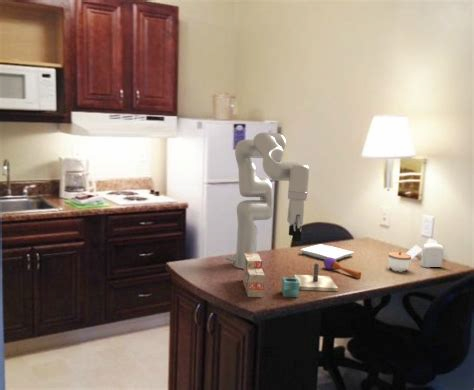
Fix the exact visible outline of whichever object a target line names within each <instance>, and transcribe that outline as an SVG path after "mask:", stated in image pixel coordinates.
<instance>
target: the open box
mask: <svg viewBox="0 0 474 390" xmlns="http://www.w3.org/2000/svg"><path fill="white" fill-rule="evenodd" d="M281 280H282V283H281V293H282V296H283V297H287V298H289V297H291V298H299V296H300V295H299V294H300V289H299V284H300V282H299V281H298V279H297V278H294V277H282V279H281Z"/></svg>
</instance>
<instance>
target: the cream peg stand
mask: <svg viewBox="0 0 474 390" xmlns="http://www.w3.org/2000/svg"><path fill="white" fill-rule="evenodd" d="M319 268H320V264H319V263H316V262H315V263H314V265H313V275H311V274H293V278H297V279H298V281H299V282H300V284H299V291H300V290H301V291H317V292H319V291H320V292H323V291H324V292H338V290H339V287H338V286H337V284H336V283H335V282H334V280H333V279H332V278H331V276H330V275H319Z"/></svg>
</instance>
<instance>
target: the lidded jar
mask: <svg viewBox="0 0 474 390" xmlns="http://www.w3.org/2000/svg"><path fill="white" fill-rule="evenodd" d="M387 255H388V257H387V258H388V259H387V262H388V265H389V267H390V268H391V270H392V271H394V272H397V271H399V272H400V273H403V272H402V271H404V272H405V271H406V270H408V269H409V267H410V265H411V261H412V260H411V259H412V255H410V254H408V253H405V252H402V251H391V252H388V254H387Z"/></svg>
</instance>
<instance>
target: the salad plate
mask: <svg viewBox="0 0 474 390" xmlns="http://www.w3.org/2000/svg"><path fill="white" fill-rule="evenodd" d="M300 251H301V252H302V253H303V254H305V255H307V256H310V257H312V258H317V259H321V260H325V259H326V258H328V257H331V258H334V259H335V260H336V261H338V260H342V259H344V257H345V258H347V257H350V256H352V255H353V254H354V253H355V252H354V251H353V250H352V251H351V250H348V249H344V248H340V247H335V246H332V245H328V244H327V245H326V244H322V243H320V244H319V243H318V244H315V245H311V246H308V247H304V248H300Z"/></svg>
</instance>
